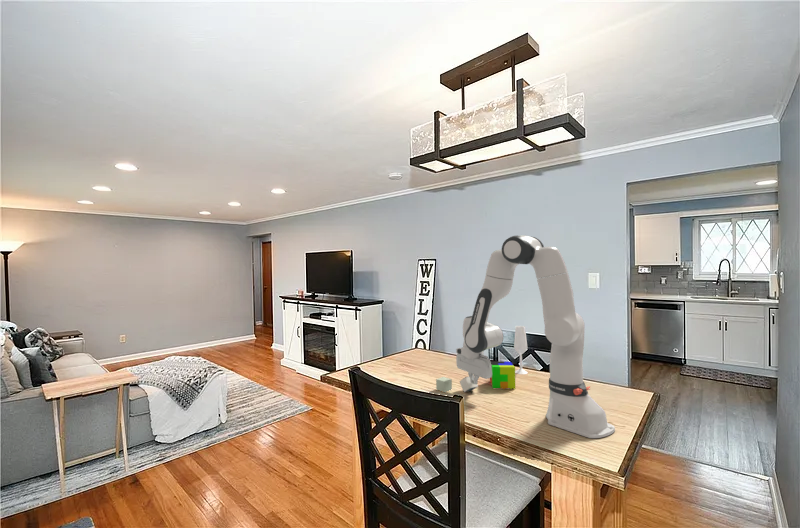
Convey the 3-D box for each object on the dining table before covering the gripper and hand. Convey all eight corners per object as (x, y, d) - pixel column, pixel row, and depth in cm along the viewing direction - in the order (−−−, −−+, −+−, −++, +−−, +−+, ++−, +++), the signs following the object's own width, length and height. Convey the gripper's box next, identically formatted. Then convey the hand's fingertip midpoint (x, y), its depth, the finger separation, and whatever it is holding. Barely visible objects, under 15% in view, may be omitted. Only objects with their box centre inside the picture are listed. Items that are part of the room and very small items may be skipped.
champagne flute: (529, 371, 193) (528, 326, 193) (525, 374, 187) (525, 328, 187) (516, 369, 197) (515, 325, 197) (512, 373, 191) (511, 327, 191)
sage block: (451, 390, 167) (451, 379, 167) (444, 392, 164) (444, 381, 164) (443, 387, 171) (443, 376, 171) (436, 390, 167) (436, 379, 167)
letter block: (478, 386, 162) (473, 375, 165) (469, 388, 160) (464, 377, 163) (472, 390, 166) (467, 379, 169) (463, 392, 164) (459, 381, 166)
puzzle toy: (510, 382, 177) (510, 361, 177) (515, 389, 167) (515, 367, 167) (489, 381, 178) (489, 361, 178) (493, 388, 168) (492, 367, 168)
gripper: (495, 355, 154) (496, 388, 153) (464, 346, 172) (465, 376, 171) (483, 358, 151) (484, 391, 150) (453, 348, 169) (454, 378, 168)
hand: (473, 383), depth 161 cm, fingers closed
